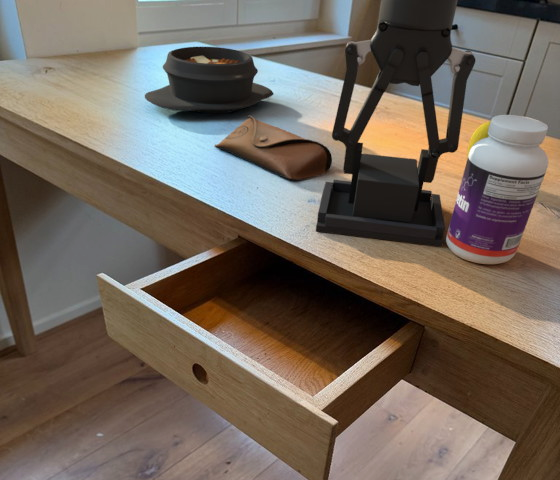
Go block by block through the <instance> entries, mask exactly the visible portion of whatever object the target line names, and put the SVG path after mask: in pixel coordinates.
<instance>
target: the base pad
mask: <svg viewBox="0 0 560 480" xmlns="http://www.w3.org/2000/svg"><path fill="white" fill-rule="evenodd" d="M350 187H351V181H350V180H340V179H333V180H332V181H325V182H324V187H323V190H322V195H321V199H320V203H319V207H318V210H317V211H318V212H317V219H316V220H317V221H316V225H315V232H318V233H326V234H333V235H334V234H335V235H344V236H351V237H358V238H367V239H376V240H382V241H391V242H399V243H407V244H416V245H424V246H430V247H431V246H433V247H443V243H444V234H445V231H446V225H445V219H444V212H443V206H442V201H441V195H440V194H436V193H433V192H432V190H429V189H427V190H426V189H422V192H421V196H420V201H419V205H418V210H417V211H414V214H413V218H412V222H411V223H407V222H398V221H389V220H381V219H372V218H364V217H355V216H353V209H354V204H350V203H348V201H349V194H350Z"/></svg>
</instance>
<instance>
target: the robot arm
mask: <svg viewBox="0 0 560 480" xmlns="http://www.w3.org/2000/svg"><path fill="white" fill-rule="evenodd" d="M458 1H459V0H380V6H379V14H378V20H377V27H376V29H375V31H374V33H373V35H372V36H371V38H370V39H366V40H360V41H357V40H354V39H351V40H349V41H347V43H346V46H345V49H344V54H345V55H344V56H345V64H346V65H345V66H346V71H345V74H344V79H343V83H342V88H341V93H340V97H339V101H338V105H337V106H338V107H337V111H336V114H335V119H334V122H333V123H334V124H333V128H332V132H331V138H332V139H333V140H334V141H337V142H338V141H339V142H340V143H342V144H343V145H344V147H345V151H344V161H343V168H342V170H343V173H344V174H345V175H351V187H350V194H349V201H348V203H350V204H354V201H355V194H356V188H357V181H358V174H359V169H360V162H361V155H362V154H363V145H364V142H359V141H360V139H361V137H362V135H363V133H364V132H365V129H366V128H367V126H368V124H369V122H370V120H371V118H372V117H373V114H374V113H375V111H376V109H377V106H378V105H379V103H380V101H381V99H382V97H383V95H384V94H385V92H386V90H387V89H388V87H389V85H391V84H393V85H400V84H407V85H409V86H413V87H420V94H421V101H422V102H421V103H422V109H423V115H424V122H425V130H426V136H427V143H428V149H425V148H424V149H423V148H421V150H420V155H419V159H418V162H417V168H418V178H419V191H418V195H417V200H416V204H415V209H414V211H417V210H418V205H419V201H420V196H421V192H422V190H423V187H424V183H427V184H431V183H432V182H433V181H434V179H435V174H436V170H437V167H438V161H439V159H440V157H441V156H442V155H443V154H447V153H451V154H452V153H455V152H457V151H458V149H459V144H460V135H461V128H462V120H463V113H464V106H465V105H464V104H465V98H466V91H467V83H468V79H469V77H470V75H471V73H472V71H473V69H474V66H475V64H476V57H475V55H474V53H473V52H472V51H471V50H465V51H464V50H461V49H458V48H456V47H453V44H452V38H451V36H452V35H451V34H452V29H453V24H454V20H455V15H456V10H457V6H458ZM369 53H371V54H372V56H373V58H374V60H375V62H376V65H377V67H378V69H379V71H378V74H377V76H376V78H375V80H374V83H373V85H372V86H371V89H370V90H369V92H368V95H367V96H366V98H365V100H364V102H363V105H362V106H361V108H360V110H359V112H358V114H357V117H356V118H355V120H354V122H353V124H352V125H351V128H350V129H348V128H346V127H345V126H346V123H347V119H348V114H349V109H350V105H351V101H352V97H353V93H354V88H355V84H356V80H357V76H358V72H359V71H358V70H359V66H361V65H363V64H364V63H365V61H366V58H367V57H366V56H367V55H368V54H369ZM448 60H449V61H450V67H449V68H450V71H451V73H452V74H453V75H452V83H451V91H450V100H449V106H448V107H449V108H448V116H447V123H446V124H447V125H446V132H445V133H446V134H445V137H444V138H440V136H439V128H438V120H437V119H438V118H437V113H436V104H435V98H434V89H433V81H432V80H433V79H432V77H433V75H435V74H436V72H437V71H438V70H439V69H440V68H441V67H442V66H443V65H444V63H445V62H447V61H448Z"/></svg>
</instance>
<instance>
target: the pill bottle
mask: <svg viewBox="0 0 560 480" xmlns="http://www.w3.org/2000/svg"><path fill="white" fill-rule="evenodd" d="M490 121H491V123H490V126H489V129H488V135H489V137H488V138H484V139H481V140H479V141H478V142H476V143H475V144H474V145H473V146H472V148H471V149H470V152H469V155H468V158H467V159H466V163H465V166H464V170H463V174H462V178H461V180H460V181H461V182H460V185H459V189H458V192H457V196H456V200H455V204H454V207H453V210H452V215H451V217H450V221H449V225H448V229H447V233H446V238H445V243H446V245H447V247H448V248H449V250H450V251H451V252H452V253H453V254H454V255H456V256H457V257H459V258H460V259H463V260H465V261H468V262H471V263H476V264H481V265H482V264H483V265H498V264H504V263H506V262H508V261H510V260H511V259H513V257H514V256H516V254H517V252H518V249H519V246H520V244H521V240H522V238H523V235H524V233H525V229H526V227H527V224H528V221H529V219H530V216H531V214H532V210H533V208H534V205H535V202H536V199H537V197H538V195H539V191H540V189H541V186H542V184H543V181H544V178H545V175H546V173H547V170H548V167H549V157H548V155H547V153H546V151H545V150H544V149H543V148H542V147H540V145H542V144H543V143H544V141H545V139H546V136H547V132H548V130H549V127H548V125H547V124H546V123H544V122H543V121H541V120H537V119H535V118H533V117H532V118H531V117H527V116H522V115H515V114H499V115H495V116H493V117H492V118H491V120H490Z"/></svg>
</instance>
